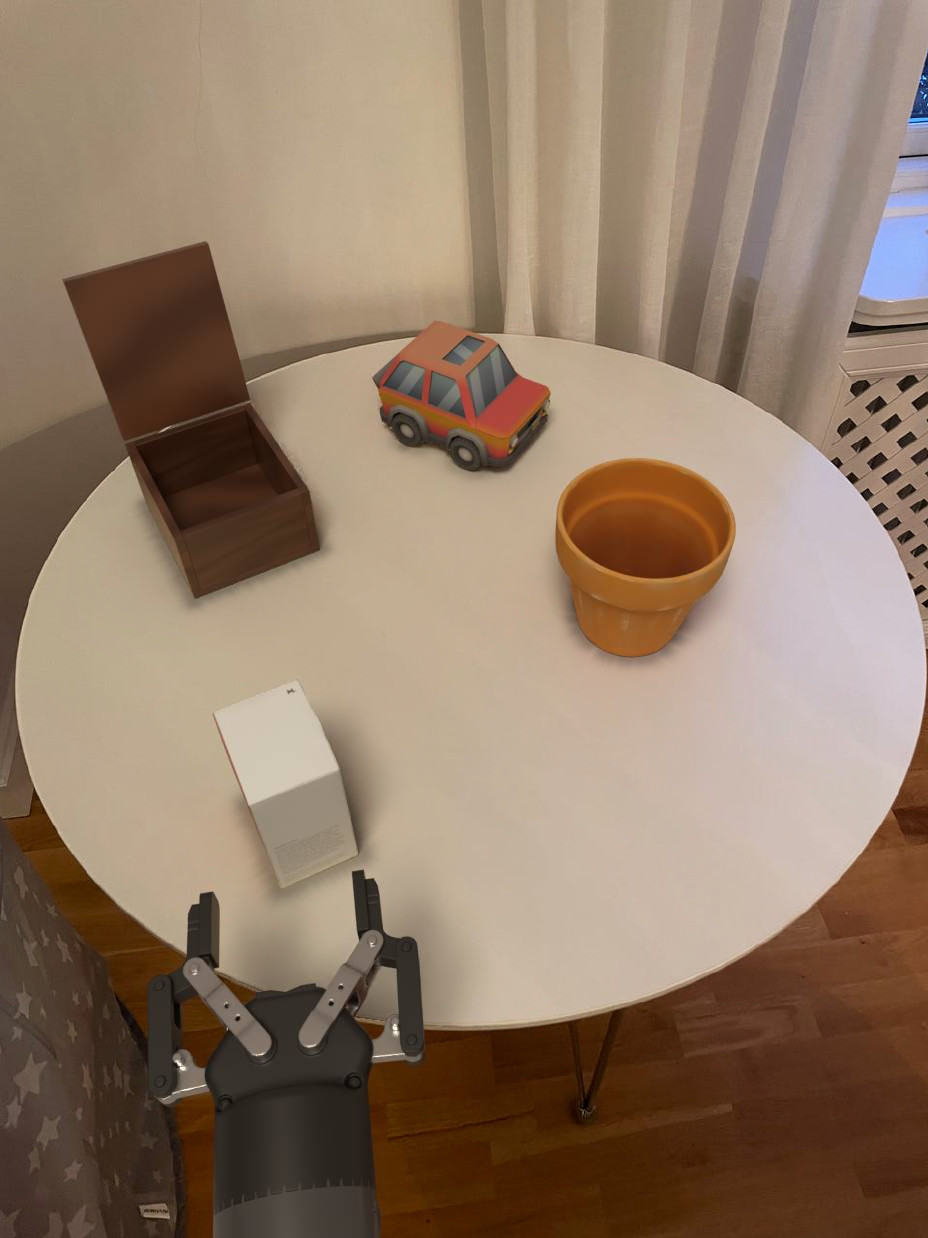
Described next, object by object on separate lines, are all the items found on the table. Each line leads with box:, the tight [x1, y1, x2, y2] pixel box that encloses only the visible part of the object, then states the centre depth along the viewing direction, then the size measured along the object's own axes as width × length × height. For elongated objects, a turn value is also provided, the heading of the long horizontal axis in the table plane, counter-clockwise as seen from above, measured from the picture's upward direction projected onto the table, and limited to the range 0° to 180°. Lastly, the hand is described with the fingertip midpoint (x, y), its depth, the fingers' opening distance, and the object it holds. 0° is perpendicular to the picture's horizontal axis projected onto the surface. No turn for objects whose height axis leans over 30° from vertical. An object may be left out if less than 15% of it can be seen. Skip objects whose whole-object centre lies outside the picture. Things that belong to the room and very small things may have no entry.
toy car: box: [371, 320, 552, 471], centre depth 98 cm, size 12×17×10 cm
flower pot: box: [554, 457, 737, 658], centre depth 79 cm, size 14×14×13 cm
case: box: [124, 402, 321, 599], centre depth 89 cm, size 15×13×8 cm
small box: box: [212, 679, 359, 889], centre depth 66 cm, size 8×6×13 cm
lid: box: [61, 240, 251, 442], centre depth 85 cm, size 15×13×1 cm
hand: (284, 886), depth 54 cm, fingers open, 8 cm apart
